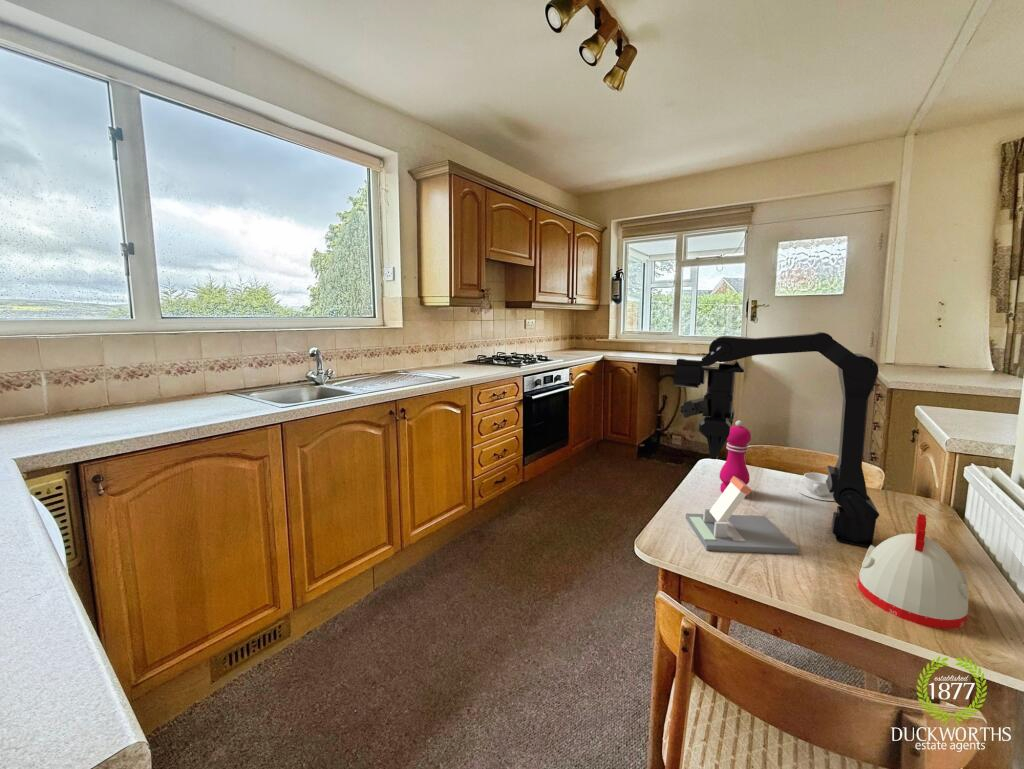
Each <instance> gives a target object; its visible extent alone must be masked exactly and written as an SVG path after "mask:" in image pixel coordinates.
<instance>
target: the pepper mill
mask: <svg viewBox="0 0 1024 769" xmlns="http://www.w3.org/2000/svg"><path fill="white" fill-rule="evenodd" d="M743 425H744V423H743V421H742V420H737V421H735V424H734V425H733V426H732V425H731V428H730V434H729V437H728V438H727V440H726V442H727V443H726V449H727V457H726V460H725V463H724V464H723V465H722V467H721V469H720V472H719V474H718V475H719V479H720V480H721V483H720V488H719V490H720V492H721V494H722V493H723V492H724V490H725V489H726V488H727V486H728V485H729V484H730V480H731V479H732V477H733V476H735V477H737V478H738V479H740V480H742V481H743V482H744V483H745V484H746V485H747V486H748V484H749V483H750V473H749V469H748V468H747V465H746V460H745V457H746V456H745V455H746V452H748V450H749V449H748V447H749V445H748V444H749V443H750V442H751V440H752V435H751V434H752V433H751V431H750V430H749V429H748V428H746V427H745V426H743Z"/></svg>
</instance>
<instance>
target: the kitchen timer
mask: <svg viewBox="0 0 1024 769" xmlns="http://www.w3.org/2000/svg"><path fill="white" fill-rule="evenodd" d="M926 516H927V515H926V514H922V513H918V515H917V518H916V524H915V525H916V526H915V530H914V533H909V532H908V533H900V534H897V535H894V536H891V537H889V538H887V539H885V540H883V541H882V542H880V543H879V544H877V546H875V547H874V546H872V545H871V546H870V547H869V548H868V549H867V551H866V554H865V555H864V558H863V561H862V563H861V568H860V569H859V573H858V577H857V578H858V579H857V588H858V590H859V592H860V593H861V594H862V595H863V596H864V597H865V598H866V599H867V600H868V601H869V602H870V603H872V604H873V605H875V606H877V607H878V608H880V609H881V610H883V611H884V612H886V613H889V614H891V615H893V616H896V617H898V618H900V619H903V620H905V621H909V622H910V621H911V622H910V623H913V622H914V624H917V625H920V626H925V627H929V628H934V629H945V630H950V629H958V628H961V627H962V626H964V625H965V624H966V622H967V621H966V620H967V618H968V617H967V616H968V612H969V595H970V594H969V585H968V583H969V582H968V578H967V574H966V572H965V571H964V569H963V570H959V568H958V566H957V564H956V563H955V561H954V560H953V558H952V557H951V556H950V554H949V553H947V551H946V550H945V549H944V548H943V547H941V546H940V545H939V544H938V543H937V542H936V541H934V540H932V539H931V538H929V537H927V536H926V529H927V528H926V527H927V517H926Z"/></svg>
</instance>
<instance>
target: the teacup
mask: <svg viewBox="0 0 1024 769" xmlns="http://www.w3.org/2000/svg"><path fill="white" fill-rule="evenodd" d="M827 478H828V474H825V473H819V472H806V473H804V474H803V484H801V485H798V486H796V490H797V492H799V494H802V495H803V496H805V497H809V498H811V499H814V500H815V499H816V500H820V501H821V500H822V501H826V502H831V501H832V502H833V501H834V502H835V500H834V498H833V495H832V493H830V492H829V490H828V487H827V484H826V480H827ZM806 489H807V490H808V491H809V492H810V493H809V492H807V490H806Z"/></svg>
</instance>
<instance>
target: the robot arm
mask: <svg viewBox="0 0 1024 769" xmlns="http://www.w3.org/2000/svg"><path fill="white" fill-rule="evenodd" d="M708 347H709V348H708V353H707V354H706V355H703V357H701V360H699V359H698V360H697V359H686V358H677V359H676V364H675V367H674V368H675V369H674V373H673V386H674V387H679V388H680V387H682V388H696V389H699V388H700V386H701V385H705V383H706V375H707V386H706V393H705V394H704V395H703V397H701V398H697V399H689V400H684V402H682V403H681V404H679V408H680V412H679V413H681V414H682V417H683V418H684V419H686V418H690V417H693V416H697V415H700V414H702V415H701V416H702V417H704V418H702V419H701V420H700V421H699V423H698V424H699V425H698V426H699V427H698V432H699V433H700V434H701V435H703V436H704V437H705V439H706V442H707V445H708V446H707V447H708V450H709V457H710V459H711V460H717V458H718V456H719V454H720V452H721V451H722V449H723V448H724V445H725V444H726V442H727V438H728V437H729V434H730V428H731V427H732V424H733V422H734V418H735V409H734V408H733V404H734V398H735V393H734V391H735V381H736V373H745V370H746V369H745V367H744V366H742V365H741V364H740V361H738V360H741V359H744V358H749V357H753V356H762V355H763V356H764V355H777V354H778V355H779V354H794V353H795V354H797V353H808V352H809V353H813V352H817V353H819V354H820V355H821V356H824V358H826V359H827V360H828V361H829V362H831V363H832V364H833V365H835V366H837V372H838V378H839V384H840V388H841V389H840V390H841V394H842V407H841V419H840V434H839V446H838V458H837V461H836V464H835V465H834V466H832V465H827V466H826V467H827V473H828V474H827V475H828V478H827V480H826V484H827V487H828V490H829V492H830V493H832V495H833V498H834V500H835V501H834V502H835V503H836V504H837V507H836V511H834V512H833V514H832V520H831V528H830V529H831V532H832V534H833V535H834V539H835V540H836V541H837V542H840V543H843V544H850V545H854V546H858V547H859V546H860V547H864V548H868V549H869V547H870V546H871V545H872V546H874V547H875V548H876V546H875V543H874V536H875V529H876V523H877V519H878V518H879V516H880V513H879V511H878V509H877V507H876V505H875V503H874V502H873V500H872V499H871V497H870V496H869V495H868V493H867V492H868V491H867V486H866V485H867V484H866V481H865V474H864V471H863V458H864V444H865V443H864V442H865V433H866V432H865V430H866V423H867V422H866V419H867V409H868V407H867V406H868V401H869V398H870V395H871V394H872V392H873V390H874V388H875V385H876V381H877V378H878V375H879V365H878V364H877V362H876V361H875V360H873V358H870V357H868V356H866V355H864V354H862V353H854V352H853V351H851V350H849V349H848V348H847V347H845V346H844V345H843V344H841V343H839V342H838V341H837V340H835V339H833V336H831V334H829V333H827V332H823V331H817V332H814V333H804V334H792V335H781V336H778V335H777V336H769V337H746V336H745V337H744V336H737V335H720V336H718V337H716V338H715V339H713V341H712V342H710V343H709V346H708ZM736 360H737V361H736ZM733 361H735V362H734V363H728V362H733ZM716 363H718V366H712V365H714V364H716ZM707 371H708V372H707ZM706 373H707V374H706Z"/></svg>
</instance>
